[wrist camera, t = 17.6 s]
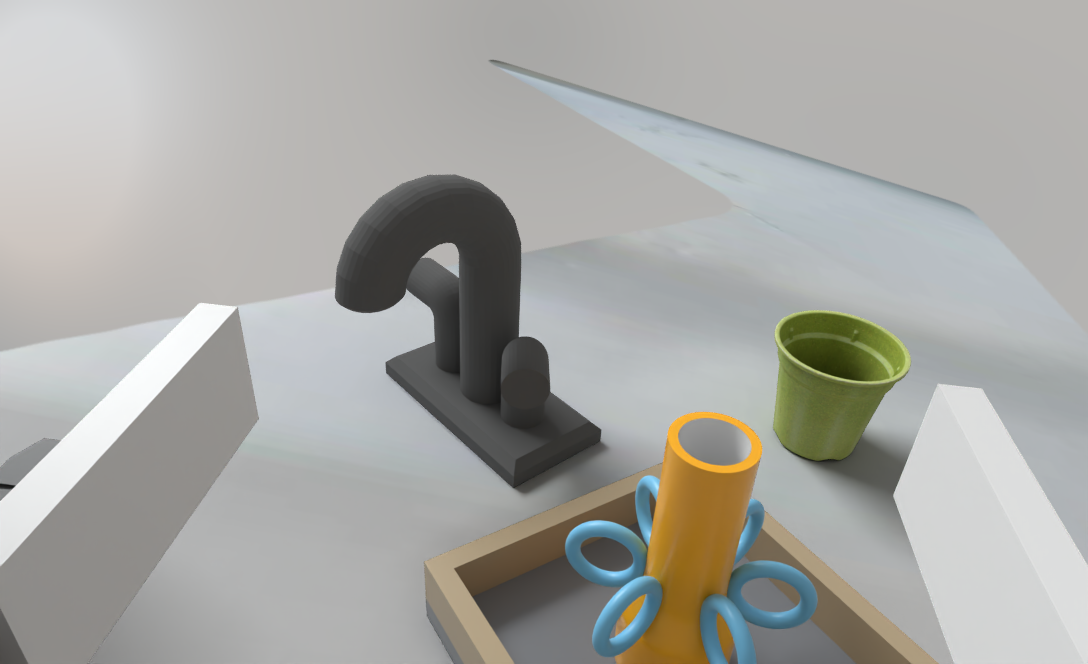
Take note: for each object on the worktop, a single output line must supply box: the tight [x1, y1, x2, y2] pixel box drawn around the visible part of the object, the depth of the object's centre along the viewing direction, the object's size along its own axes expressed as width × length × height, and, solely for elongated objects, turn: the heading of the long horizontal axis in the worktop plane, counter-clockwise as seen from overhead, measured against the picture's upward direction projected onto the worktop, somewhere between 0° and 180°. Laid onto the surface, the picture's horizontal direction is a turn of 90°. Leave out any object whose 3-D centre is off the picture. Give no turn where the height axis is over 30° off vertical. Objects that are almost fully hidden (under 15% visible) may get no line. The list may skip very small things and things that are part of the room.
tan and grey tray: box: [424, 462, 939, 664], centre depth 41 cm, size 19×19×4 cm
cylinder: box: [565, 412, 818, 664], centre depth 37 cm, size 12×10×15 cm
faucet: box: [335, 175, 601, 488], centre depth 54 cm, size 18×16×20 cm
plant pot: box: [773, 310, 911, 461], centre depth 58 cm, size 9×9×9 cm
